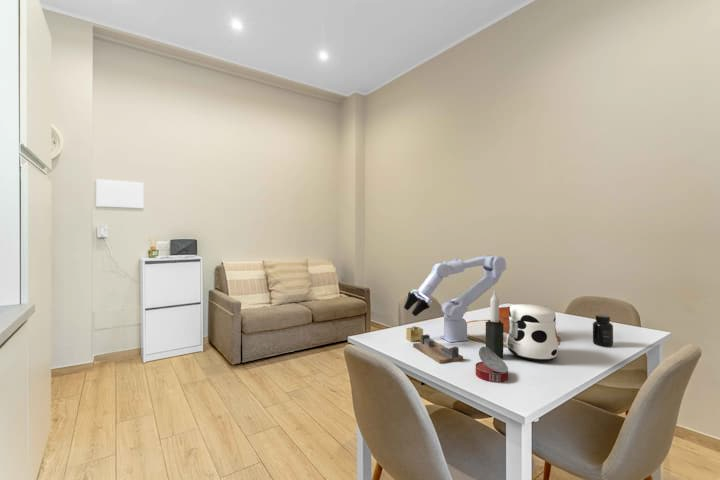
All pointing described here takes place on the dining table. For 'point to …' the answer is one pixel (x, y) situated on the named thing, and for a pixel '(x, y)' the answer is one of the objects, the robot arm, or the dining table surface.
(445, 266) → the robot arm
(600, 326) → the supplement bottle
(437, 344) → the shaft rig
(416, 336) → the block
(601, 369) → the dining table surface
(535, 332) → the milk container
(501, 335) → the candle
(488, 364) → the canned food
